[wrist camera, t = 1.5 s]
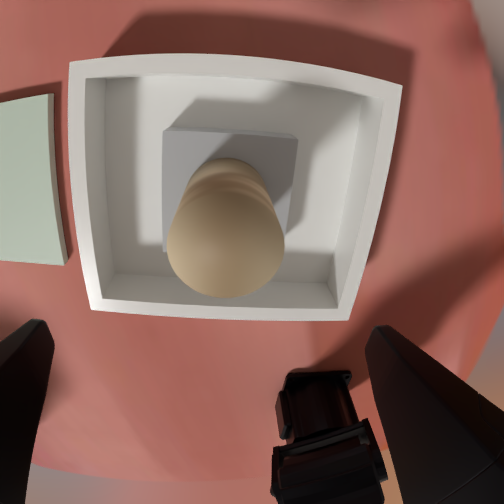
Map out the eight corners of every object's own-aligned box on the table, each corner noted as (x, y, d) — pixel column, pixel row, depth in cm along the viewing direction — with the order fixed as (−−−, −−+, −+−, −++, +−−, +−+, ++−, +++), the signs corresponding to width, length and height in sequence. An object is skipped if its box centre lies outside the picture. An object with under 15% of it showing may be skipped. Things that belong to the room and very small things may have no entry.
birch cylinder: (271, 160, 16) (292, 197, 11) (262, 236, 19) (276, 299, 13) (186, 155, 16) (165, 189, 11) (184, 232, 18) (168, 295, 13)
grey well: (374, 84, 17) (402, 85, 14) (334, 290, 24) (348, 320, 21) (95, 65, 15) (69, 62, 12) (106, 279, 22) (91, 309, 19)
